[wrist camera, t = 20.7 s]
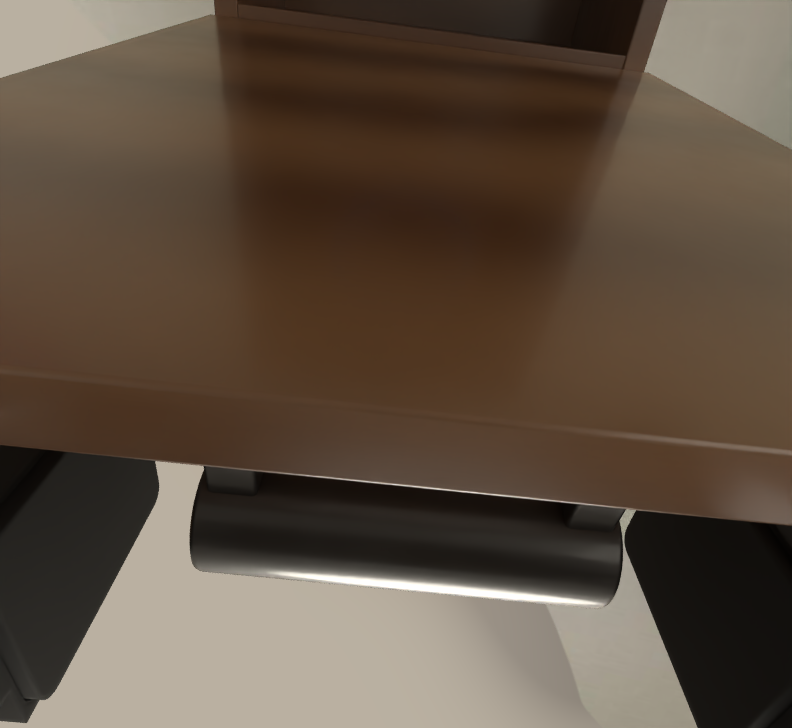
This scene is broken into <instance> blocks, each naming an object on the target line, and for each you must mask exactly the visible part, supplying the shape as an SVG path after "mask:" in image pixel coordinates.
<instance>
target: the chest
mask: <svg viewBox="0 0 792 728" xmlns="http://www.w3.org/2000/svg"><path fill="white" fill-rule="evenodd" d="M666 2H667V0H214V6H215V15H219V16H226V17H233V18H241V19H248V20H256V21H263V22H271V23H278V24H286V25H293V26H301V27H308V28H316V29H323V30H331V31H338V32H346V33H353V34H361V35H368V36H376V37H383V38H391V39H398V40H406V41H413V42H421V43H428V44H436V45H443V46H451V47H458V48H466V49H473V50H481V51H488V52H496V53H503V54H510V55H518V56H525V57H533V58H540V59H548V60H555V61H563V62H570V63H578V64H585V65H593V66H600V67H608V68H615V69H623V70H630V71H638V72H644V70H645V67H646V64H647V61H648V58H649V55H650V52H651V48H652V45H653V42H654V39H655V36H656V33H657V30H658V27H659V24H660V20H661V17H662V14H663V11H664V8H665V5H666Z"/></svg>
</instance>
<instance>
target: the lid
mask: <svg viewBox="0 0 792 728" xmlns="http://www.w3.org/2000/svg"><path fill="white" fill-rule="evenodd" d="M0 445H5V446H14V447H24V448H34V449H44V450H53V451H63V452H73V453H83V454H92V455H102V456H112V457H122V458H132V459H141V460H151V461H161V462H171V463H180V464H191V465H200V466H204V471H203V474H202V477H201V479H200V482H199V485H198V489H197V492H196V496H195V500H194V505H193V510H192V516H191V526H190V554H191V560H192V564H193V565H194V567H195V568H196V569H198V570H200V571H203V572H214V573H224V574H234V575H246V576H255V577H266V578H277V579H288V580H297V581H309V582H319V583H329V584H340V585H350V586H361V587H371V588H382V589H392V590H403V591H413V592H424V593H434V594H445V595H455V596H466V597H477V598H487V599H497V600H508V601H518V602H529V603H539V604H550V605H560V606H571V607H581V608H592V609H599V608H601V607H604V606H606V605H608V604H609V603H610V602H611V600H612V599H613V597H614V596H615V593H616V591H617V589H618V585H619V582H620V577H621V571H622V562H623V542H622V532H621V526H620V522H619V520H620V518H621V517H622V515H623V514H624V512H625V510H626V509H630V510H639V511H649V512H659V513H669V514H679V515H688V516H698V517H708V518H718V519H727V520H737V521H747V522H757V523H766V524H776V525H786V526H792V150H791V149H789V148H787V147H785V146H784V145H782V144H780V143H778V142H776V141H774V140H772V139H771V138H769V137H767V136H765V135H763V134H761V133H759V132H758V131H756V130H754V129H752V128H750V127H748V126H746V125H745V124H743V123H741V122H739V121H737V120H735V119H733V118H732V117H730V116H728V115H726V114H724V113H722V112H720V111H719V110H717V109H715V108H713V107H711V106H709V105H707V104H706V103H704V102H702V101H700V100H698V99H696V98H694V97H693V96H691V95H689V94H687V93H685V92H683V91H681V90H680V89H678V88H676V87H674V86H672V85H670V84H668V83H667V82H665V81H663V80H661V79H659V78H657V77H655V76H654V75H652V74H650V73H645V72H638V71H630V70H623V69H615V68H608V67H600V66H593V65H585V64H578V63H570V62H563V61H555V60H548V59H540V58H533V57H525V56H518V55H510V54H503V53H496V52H488V51H481V50H473V49H466V48H458V47H451V46H443V45H436V44H428V43H421V42H413V41H406V40H398V39H391V38H383V37H376V36H368V35H361V34H353V33H346V32H338V31H331V30H323V29H316V28H308V27H301V26H293V25H286V24H278V23H271V22H263V21H256V20H248V19H241V18H233V17H226V16H219V15H208V16H204V17H201V18H198V19H194V20H191V21H188V22H185V23H181V24H178V25H175V26H171V27H168V28H165V29H161V30H158V31H155V32H151V33H148V34H145V35H141V36H138V37H135V38H132V39H128V40H125V41H122V42H118V43H115V44H112V45H108V46H105V47H102V48H99V49H95V50H92V51H88V52H85V53H82V54H79V55H75V56H72V57H69V58H66V59H62V60H59V61H55V62H52V63H49V64H45V65H42V66H39V67H35V68H32V69H29V70H26V71H22V72H19V73H16V74H12V75H9V76H6V77H3V78H0Z"/></svg>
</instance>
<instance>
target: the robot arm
mask: <svg viewBox="0 0 792 728" xmlns="http://www.w3.org/2000/svg"><path fill="white" fill-rule="evenodd" d="M158 492H159V480H158V475H157V469H156V464H155V461H151V460H141V459H132V458H122V457H112V456H102V455H92V454H83V453H73V452H63V451H53V450H44V449H34V448H24V447H14V446H5V445H0V721H8V722H20V723H27V722H28V720H29V718H30V716H31V714H32V712H33V711H34V709H35V707H36V705H37V703H38V702H39V700H46V699H48V698H49V697H50V696H51V695H52V694H53V693H54V692H55V690H56V689H57V687H58V685H59V683H60V682H61V680H62V678H63V676H64V674H65V672H66V670H67V668H68V667H69V665H70V663H71V661H72V659H73V657H74V655H75V653H76V652H77V650H78V648H79V646H80V644H81V642H82V640H83V638H84V637H85V635H86V633H87V631H88V628H89V627H90V625H91V623H92V622H93V619H94V618H95V616H96V614H97V612H98V610H99V608H100V606H101V605H102V603H103V601H104V599H105V597H106V595H107V593H108V591H109V590H110V588H111V586H112V584H113V582H114V580H115V578H116V576H117V575H118V573H119V571H120V569H121V567H122V565H123V563H124V561H125V560H126V558H127V556H128V554H129V552H130V550H131V548H132V546H133V545H134V542H135V541H136V539H137V537H138V535H139V533H140V531H141V529H142V528H143V526H144V524H145V522H146V520H147V518H148V516H149V514H150V513H151V511H152V509H153V507H154V505H155V503H156V500H157V497H158ZM625 548H626V551H627V554H628V556H629V558H630V561H631V563H632V566H633V568H634V571H635V573H636V576H637V578H638V581H639V583H640V586H641V588H642V591H643V593H644V596H645V598H646V601H647V603H648V606H649V608H650V611H651V613H652V615H653V618H654V620H655V623H656V625H657V628H658V630H659V633H660V635H661V638H662V640H663V643H664V645H665V648H666V650H667V653H668V655H669V658H670V660H671V663H672V665H673V668H674V670H675V673H676V675H677V677H678V680H679V682H680V685H681V687H682V690H683V692H684V695H685V697H686V700H687V702H688V705H689V707H690V710H691V712H692V715H693V717H694V720H695V722H696V725H697V727H698V728H792V526H786V525H776V524H766V523H757V522H747V521H737V520H727V519H718V518H708V517H698V516H688V515H679V514H669V513H659V512H649V511H639V510H636V512H635V513H634V515H633V517H632V519H631V521H630V523H629V525H628V527H627V529H626V532H625Z"/></svg>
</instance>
